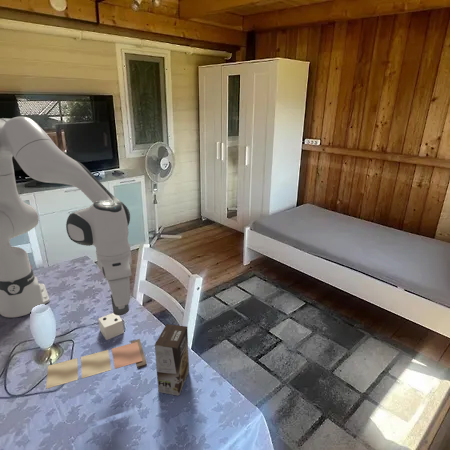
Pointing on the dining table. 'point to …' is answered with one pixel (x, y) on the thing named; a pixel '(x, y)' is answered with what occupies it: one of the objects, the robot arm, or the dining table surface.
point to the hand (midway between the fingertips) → (120, 302)
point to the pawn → (119, 311)
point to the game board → (95, 364)
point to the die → (111, 326)
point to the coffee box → (172, 359)
